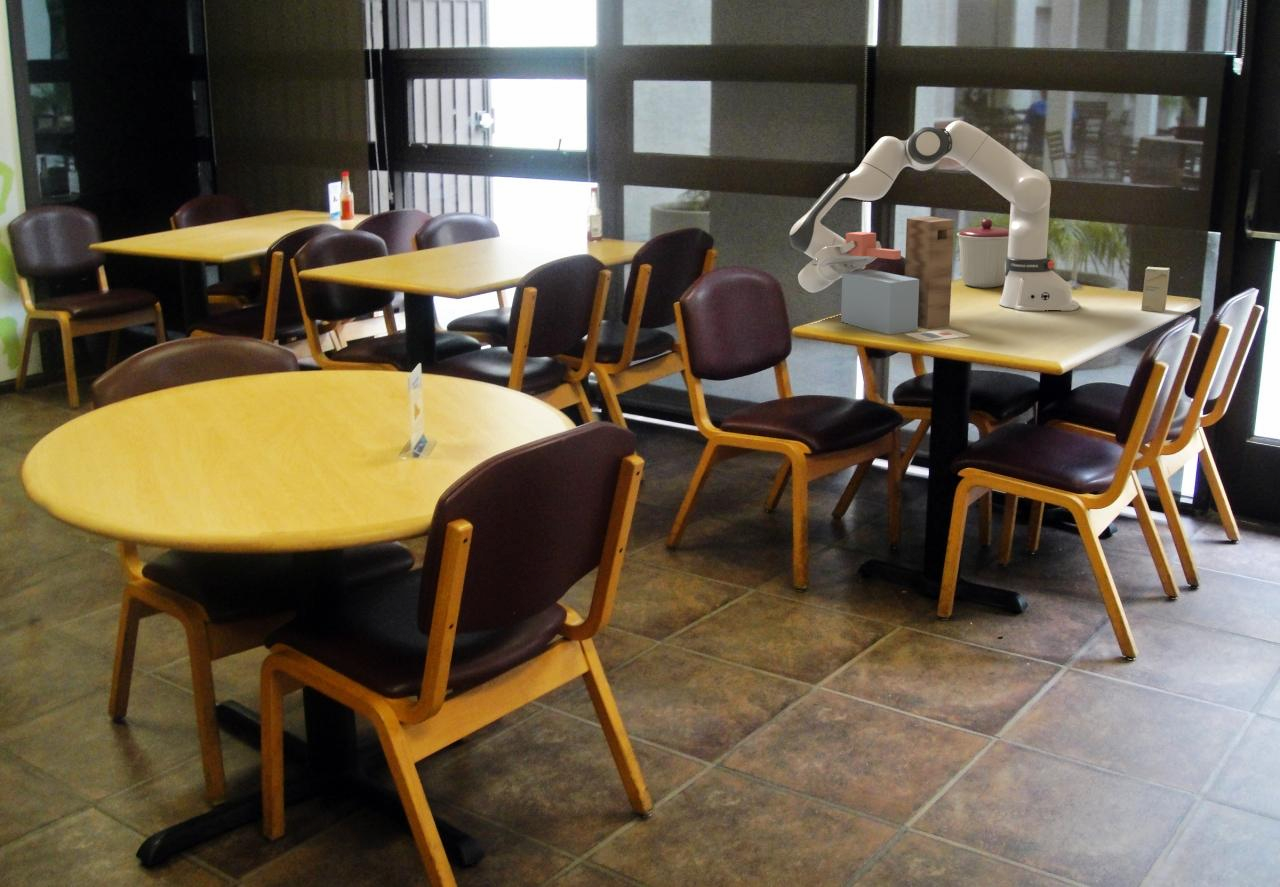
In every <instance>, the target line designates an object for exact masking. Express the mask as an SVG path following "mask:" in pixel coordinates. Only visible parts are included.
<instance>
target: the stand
mask: <svg viewBox="0 0 1280 887" xmlns="http://www.w3.org/2000/svg"><path fill="white" fill-rule="evenodd" d="M905 226H906V227H905V228H906V229H905V254H904V256H905V258H904V276H906V277H911V278H916V279H919V300H918V326H917V328H923V329H926V328H927V329H928V328H929V329H934V328H941V327H940V326H942V327H948V326H950V319H951V297H952V296H951V294H952V277H953V274H952V273H953V256H954V255H953V252H954V235H955V234H954V233H955V232H954V230H955V229H954V228H955V219H950V218H944V217H936V216H929V215H928V216H916V217H910V218H909V217H908V218H906V225H905ZM947 325H948V326H947Z"/></svg>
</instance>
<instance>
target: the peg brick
mask: <svg viewBox="0 0 1280 887" xmlns="http://www.w3.org/2000/svg"><path fill="white" fill-rule="evenodd" d="M845 240H846V244H848V243H850V242H851V241H856V242H857V245H858V246H857V247H856V248H855V249H852V250H850V251H848V252H847V254H849V255H852V256H861V257H863V256H869V257H877V259H879V258H880V259H888V260H900V259H902V250H900V249H890V248H882V247H881V248H876V241H877V233H876V232H866V231H856V232H855V231H854V232H846V233H845Z"/></svg>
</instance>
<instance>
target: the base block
mask: <svg viewBox="0 0 1280 887" xmlns="http://www.w3.org/2000/svg"><path fill="white" fill-rule="evenodd" d="M918 300H919V279H916V278H911V277H906V276H905V275H900V274H897V273H895V274H894V273H890V272H885V271H881V270H875V269H862V270H859V271H853V272H845V273H842V277H841V305H840V306H841V309H840V310H841V312H840V313H841V314H840V315H841V317H840V323H842V322H844V323H843V324H846V323H848V324H847V325H850V324H851V325H850V326H853V325H854V327H857V326H858V328H862V329H866V330H870V331H873V332H877V331H878V333H881V332H882V333H881V334H885V333H886V334H885V335H888V334H890V335H895V334H894V333H896V334H900V333H902V332H903V333H908V332H909V333H910V332H915V330H916V331H918ZM903 333H902V334H903Z"/></svg>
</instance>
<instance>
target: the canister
mask: <svg viewBox="0 0 1280 887" xmlns="http://www.w3.org/2000/svg"><path fill="white" fill-rule="evenodd" d="M993 224H994V223H993V221H992V220H991V219H990V218H983V219H982V220H981V222H980V226H974V227H972V226H971V227H966V228H963V229H962V230H960V231H959V232H957V233H956V235H957V237H958V240H959V241H958V244H959V246H958V247H959V262H960V272H961V279H962V281H963V283H964V284H965V285H966V286H968V287H974V288H997V287H1001V286H1002V285H1004V284H1005V278H1006V276H1005V260H1006V257H1007V256H1008V240H1009V228H1004V227H998V226H993Z"/></svg>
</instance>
